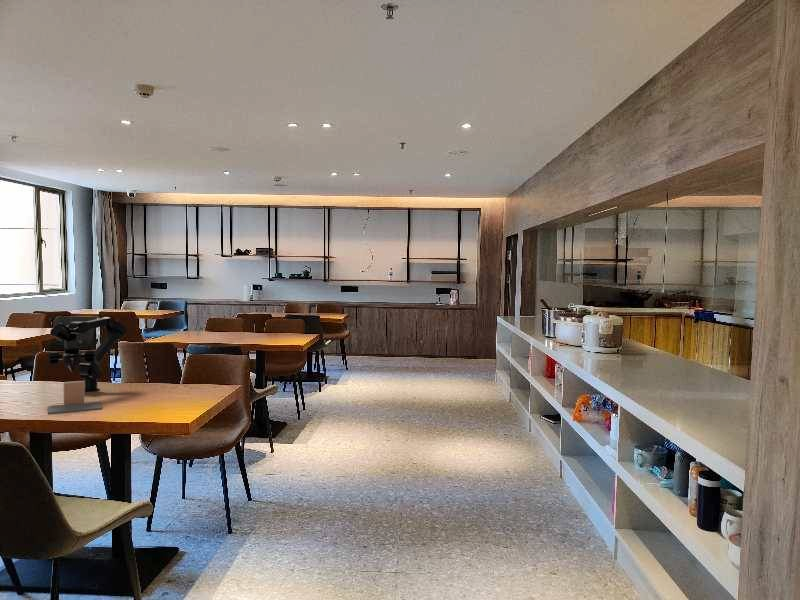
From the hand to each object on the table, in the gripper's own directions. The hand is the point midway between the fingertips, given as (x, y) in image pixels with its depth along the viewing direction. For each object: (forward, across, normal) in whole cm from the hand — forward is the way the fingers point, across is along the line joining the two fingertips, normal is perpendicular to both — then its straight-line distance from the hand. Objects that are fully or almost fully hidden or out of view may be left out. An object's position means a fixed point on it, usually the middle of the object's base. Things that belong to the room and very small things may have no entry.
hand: (72, 371), depth 265 cm
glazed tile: (+17, 0, +1) cm, 17 cm away
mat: (+24, 0, -5) cm, 24 cm away
